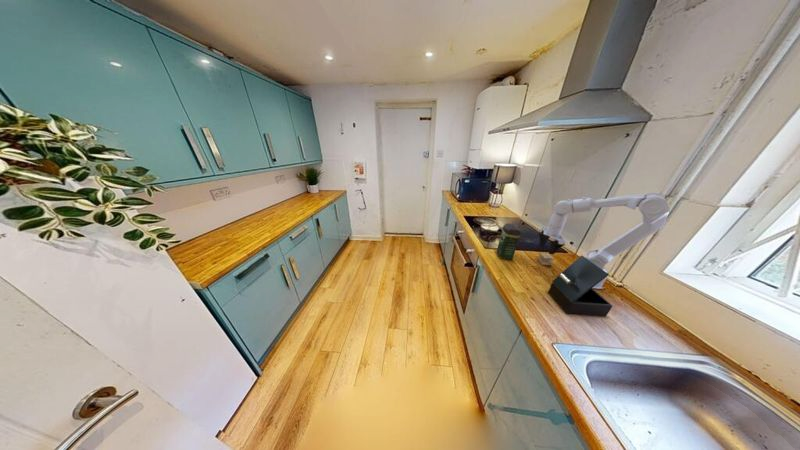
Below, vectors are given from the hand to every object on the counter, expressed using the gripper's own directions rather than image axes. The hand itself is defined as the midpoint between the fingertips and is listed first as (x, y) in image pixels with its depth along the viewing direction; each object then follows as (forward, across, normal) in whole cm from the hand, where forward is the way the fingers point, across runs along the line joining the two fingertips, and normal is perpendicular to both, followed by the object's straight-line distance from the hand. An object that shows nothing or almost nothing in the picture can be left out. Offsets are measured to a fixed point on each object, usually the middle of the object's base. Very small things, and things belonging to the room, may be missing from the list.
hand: (546, 249), depth 100 cm
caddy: (+10, +26, -2) cm, 28 cm away
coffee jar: (+10, -8, -15) cm, 20 cm away
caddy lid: (-3, +26, -5) cm, 27 cm away
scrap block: (+10, -3, +4) cm, 11 cm away
